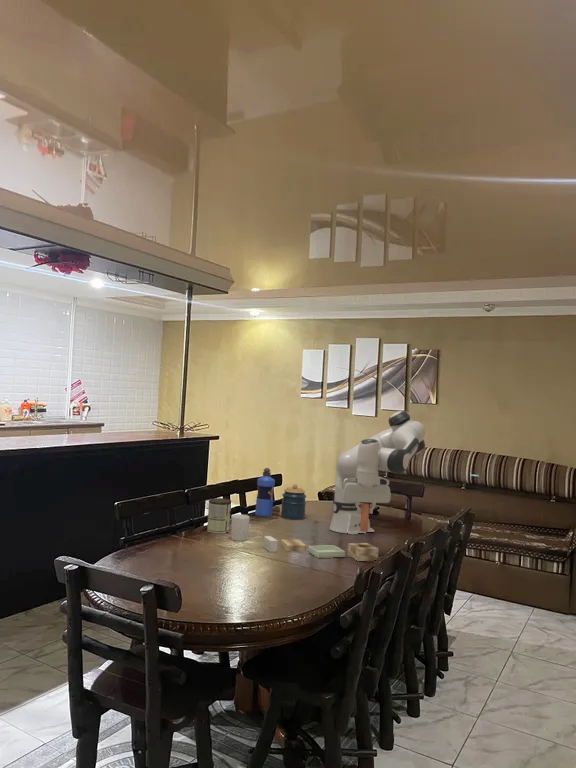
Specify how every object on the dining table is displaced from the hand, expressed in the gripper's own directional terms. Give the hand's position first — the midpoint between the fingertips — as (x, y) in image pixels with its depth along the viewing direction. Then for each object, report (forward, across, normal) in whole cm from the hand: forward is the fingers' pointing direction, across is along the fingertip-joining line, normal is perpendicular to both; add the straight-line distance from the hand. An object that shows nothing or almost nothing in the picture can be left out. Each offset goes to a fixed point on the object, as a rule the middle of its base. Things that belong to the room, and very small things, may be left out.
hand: (364, 513), depth 236 cm
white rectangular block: (+18, -36, +11) cm, 42 cm away
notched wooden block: (+19, -26, +13) cm, 35 cm away
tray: (+18, -14, +4) cm, 23 cm away
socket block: (+18, 0, 0) cm, 18 cm away
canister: (+18, -13, +78) cm, 81 cm away
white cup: (+18, -47, +27) cm, 57 cm away
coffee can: (+18, -55, +42) cm, 72 cm away
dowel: (+7, 0, 0) cm, 7 cm away
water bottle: (+18, -28, +82) cm, 89 cm away
